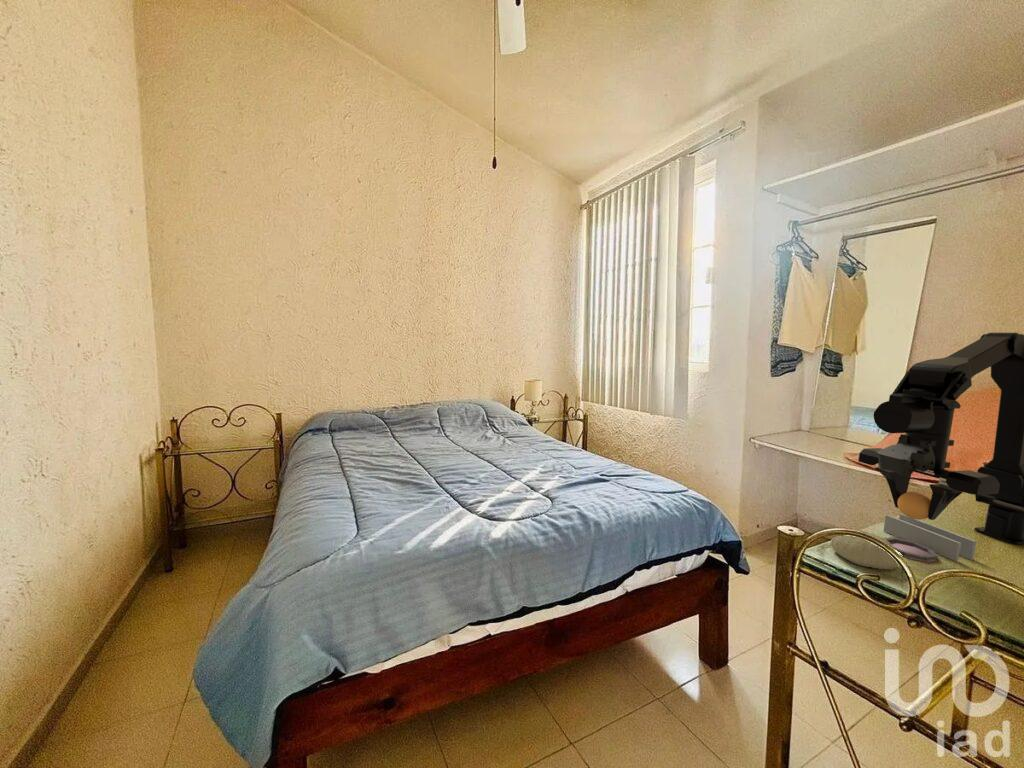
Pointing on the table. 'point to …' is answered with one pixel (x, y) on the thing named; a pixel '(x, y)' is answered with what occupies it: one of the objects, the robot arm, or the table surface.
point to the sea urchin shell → (863, 551)
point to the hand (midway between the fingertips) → (914, 513)
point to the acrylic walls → (930, 537)
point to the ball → (914, 505)
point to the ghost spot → (912, 549)
